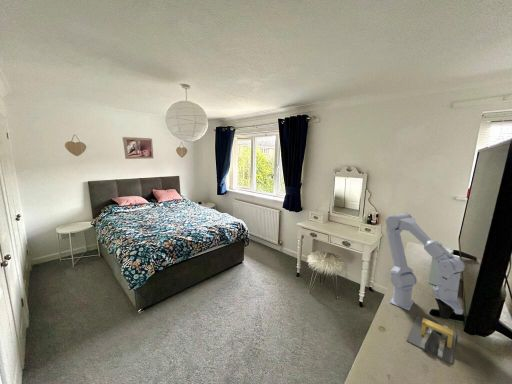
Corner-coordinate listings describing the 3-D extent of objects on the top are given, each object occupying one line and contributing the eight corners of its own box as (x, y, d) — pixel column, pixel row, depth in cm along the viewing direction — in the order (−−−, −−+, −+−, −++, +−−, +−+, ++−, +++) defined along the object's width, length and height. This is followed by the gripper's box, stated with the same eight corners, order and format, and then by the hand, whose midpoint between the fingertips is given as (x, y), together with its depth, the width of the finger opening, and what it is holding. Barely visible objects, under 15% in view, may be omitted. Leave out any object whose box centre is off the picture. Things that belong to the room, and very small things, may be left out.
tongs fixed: (436, 327, 87) (436, 322, 87) (447, 332, 84) (448, 326, 84) (429, 351, 76) (430, 345, 76) (442, 358, 74) (442, 351, 73)
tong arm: (429, 330, 85) (430, 325, 85) (436, 333, 83) (437, 328, 83) (420, 346, 78) (420, 341, 78) (427, 350, 76) (428, 345, 76)
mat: (416, 316, 93) (416, 316, 93) (456, 333, 84) (456, 333, 84) (406, 341, 81) (406, 340, 81) (451, 364, 72) (452, 363, 72)
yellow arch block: (422, 330, 85) (423, 318, 85) (451, 343, 79) (453, 330, 78) (420, 334, 83) (422, 322, 83) (451, 348, 77) (452, 335, 76)
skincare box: (440, 287, 114) (443, 260, 111) (428, 283, 118) (430, 256, 116) (450, 274, 126) (453, 249, 124) (439, 270, 130) (441, 246, 128)
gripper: (426, 275, 90) (423, 304, 93) (448, 297, 77) (443, 330, 79) (445, 277, 89) (442, 306, 91) (471, 299, 75) (466, 333, 77)
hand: (444, 317), depth 85 cm, fingers closed
